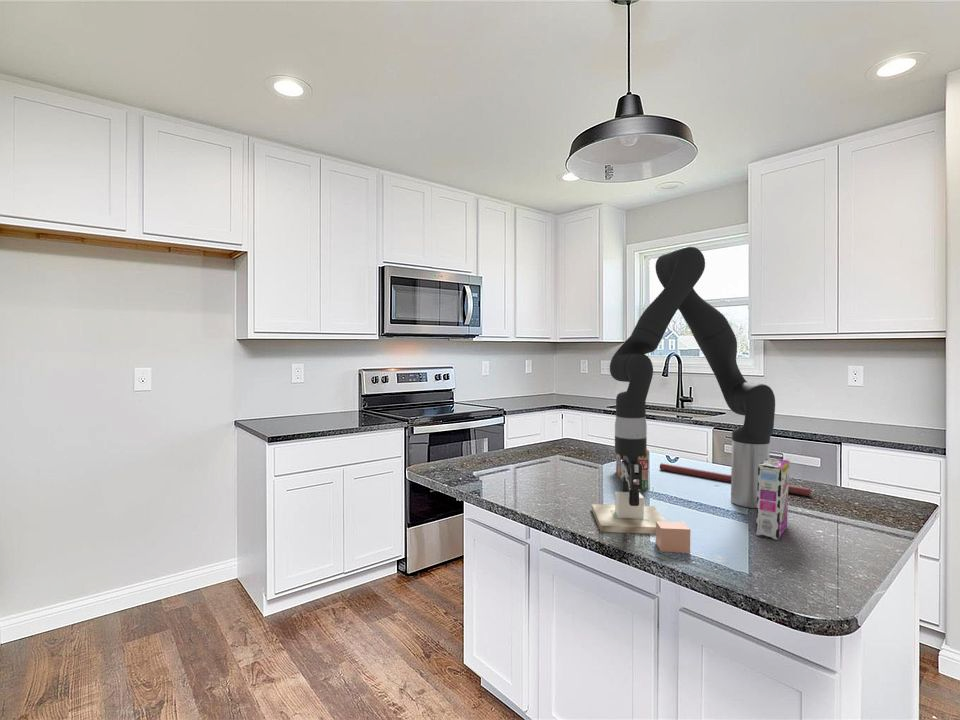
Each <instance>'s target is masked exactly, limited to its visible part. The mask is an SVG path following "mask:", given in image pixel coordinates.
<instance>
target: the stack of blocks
mask: <svg viewBox="0 0 960 720" xmlns="http://www.w3.org/2000/svg"><path fill="white" fill-rule="evenodd" d="M615 456H616V457H615V462H616V467H615V468H616V469H615V471H616V473H617V475H618V476H619V478H620V480H621V481H622V479H621V475H620V455H618V454H616V453H615ZM649 458H650V450H649V449H648V448H647V453H646V455H644V456H639V457H638V463H640V464H641V465H642V490H647V489H648V488H649V467H650V466H649V462H650V461H649ZM633 484H637V483H636V482H635V481H633Z"/></svg>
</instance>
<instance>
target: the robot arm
mask: <svg viewBox="0 0 960 720" xmlns="http://www.w3.org/2000/svg"><path fill="white" fill-rule="evenodd" d="M655 261H656V262H655V273H656V276H657V278H658V281H659V283H660V284H661V285H662V287H663V289H662V290H661V291H660V293H659V294H658V295H657V296H656V298H654V299H653V301H652V302H651V303H650V304H649V305H648V306H647V307H646V308H645V310H644V311H643V313H641V315H640V317H639V319H638V320H637V322H636V325H635V326H634V328H633V331H632V332H631V334H630V336H629V337H628V338H627V339H626V340H625V341H624V342H623V343H622V344H621V346H620V347H618V349H617V350H616V352H615V353H614V354H613V356H612V358H611V360H610V362H609V374H610V375H611V377H612V378H613V379H614V380H615V381H618V382H622V383H623V382H625V383H628V386H627V389H626V391H622V392H619V393H617V395H616V398H615V422H614V453H615V455H616V454H618V455H620V475H621V478H620V480H621V479H622V480H621V481H622V483H621V484H622V485H621V486H622V487H621V488H622V489H621V492H629V504H630V505H631V506H638V505H639V493H640V491H641V490H643V489H642V465H641V464H640V463H638V457H639V456H644V455H646V453H647V449H648V448H647V445H648V444H647V441H648V439H647V438H648V436H647V434H648V433H647V432H648V431H647V429H648V428H647V420H646V419H647V418H646V417H647V415H646V414H647V413H646V409H647V408H646V407H647V405H646V403H647V398H648V393H649V390H650V387H651V383H652V379H653V375H654V366H653V365H654V364H653V361H652V360H651V358H650V357H649V356H647V354H650V353H653V352H655V351H656V350H657V348H658V346H659V345H660V343H661V341H662V339H663V337H664V335H665V332H666V330H667V329H668V328H669V327H668V326H669V325H670V323H671V321H672V319H673V317H674V315H675V314H676V313H677V311H679V313H680V314H681V316H682V317H683V319H684V321H685V322H686V324H687V326H688V328H689V330H690V332H691V333H692V336H693V337H694V340H695V342H696V343H697V345H698V347H699V350H700V351H701V352H702V353H703V355H704V357H705V359H706V361H707V363H708V365H709V367H710V369H711V371H712V373H713V375H714V377H715V378H716V382H717V383H718V387H719V388H720V391H721V393H722V396H723V398H724V400H725V403H726V405H727V406H728V408H729V410H731V411H732V412H733V413H735V414H736V415H740V416H744V422H743V424H742V426H741V427H737V428H734V429H733V430H732V432H731V470H730V471H731V472H730V473H731V474H730V475H731V482H730V502H731V503H733V504H735V505H736V506H739V507H744V508H751V509H757V487H758V465H759V464H761V463H762V462H763V461H765V460H766V459H767V458H770V452H771V451H770V450H771V449H770V446H771V444H770V443H771V436H772V434H773V431H774V427H775V414H776V413H775V412H776V398H775V394H774V390H773V389H772V388H771V387H770V386H769V385H767V384H763V383H756V382H755V383H754V382H748V381H747V380H746V379H745V377H744V376H743V374H742V373H741V370H740V369H739V366H738V363H737V356H738V341H737V337H736V334H735V333H734V330H733V328H732V327H731V324H730V322H728V319H727V317H726V316H725V315H724V314H723V313H721V312H720V311H719V310H718V309H717V308H716V307H715V306H713V305H711V304H710V303H709V302H707V301H706V300H705V299H703V298H702V297H701V296H700V295H699V293H697V291H696V290H695V289H694V287H695V286H696V285H697V283H698V282H699V280H700V279H701V277H702V275H703V273H704V272H705V268H706V259H705V256H704V254H703V252H702V251H701V250H700V249H698V247H695V246H690V245H689V246H685V247H681V248H678V249H674V250H672V251H669V252H666V253H663V254H662V255H660V256H659V257H657V260H655ZM633 481H635V482H636V483H637V484H633Z"/></svg>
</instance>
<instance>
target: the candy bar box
mask: <svg viewBox="0 0 960 720" xmlns="http://www.w3.org/2000/svg"><path fill="white" fill-rule="evenodd" d="M789 479H790V460H786V459H780V458H774V457H773V458H772V457H769V458H767V459H766V460H765V461H763V462H762V463H761V464H759V465H758V487H757V508H756V515H755V516H756V519H755V521H756V523H755V536H757V537H760V538H761V537H762V538H765V539H769V540H775V541H779V540H780V539H781V538H782V536H783V534H784V532H785V531H786V530H787V528H788V513H789V511H788V509H789V508H788V506H789V493H788V486H789V485H790V484H789V483H790V482H789V481H790V480H789Z"/></svg>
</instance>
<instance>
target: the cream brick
mask: <svg viewBox="0 0 960 720" xmlns="http://www.w3.org/2000/svg"><path fill="white" fill-rule="evenodd" d="M614 493H615V494H614V505H615V512H616V514H617V516H618V518H644V506H645V502H644V501H645V497H644V496H643V494H641V492H639V505H638V506H631V505H630V504H629V492H622V491H615V492H614Z"/></svg>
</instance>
